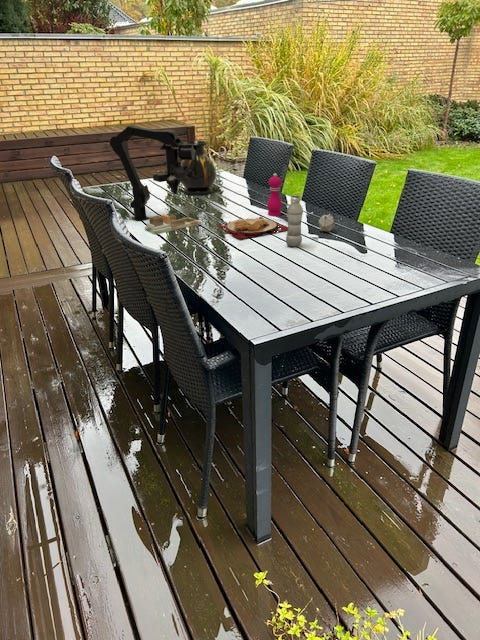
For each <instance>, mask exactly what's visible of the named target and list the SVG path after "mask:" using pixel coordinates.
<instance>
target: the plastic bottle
mask: <svg viewBox="0 0 480 640" xmlns="http://www.w3.org/2000/svg"><path fill="white" fill-rule="evenodd" d="M286 213H287V214H286V215H287V216H286V217H287V227H288V230H286V231H287V232H286V238H285V243H286V245H288V247H293V246H294V247H299V246H300V245H301V244H302V240H303V238H302V221H303V215H304V209H303V206H302V204H301V196H299V195H292V196H291V197H290V204H289V205H288V207H287V209H286Z"/></svg>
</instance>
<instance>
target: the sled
mask: <svg viewBox="0 0 480 640" xmlns="http://www.w3.org/2000/svg"><path fill="white" fill-rule="evenodd" d="M170 216H171V215H167V214H165V213H163V214H160V217H163V225H162V226H157V227H155V225H152V224H150V222H146V226H147V227H149V228H151V229H153V230H155V229H159V228H163V227H168V226H171V224H170Z"/></svg>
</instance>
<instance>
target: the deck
mask: <svg viewBox="0 0 480 640" xmlns="http://www.w3.org/2000/svg"><path fill="white" fill-rule="evenodd" d="M169 216H170V224H171V226H168V227H163V228H159V229H155V230H153V229H151V228H149V227H147V225H146V226H144V230H145V231H146V232H149V233H151V234H154V235H159V234H160V235H161V234H163V233H169V232H172V231H173V232H174V231H176V230H181V229H184V228H189V227H193V226H198V225H200V223H201V222H200V220H198V219H194V218H192V217H191V216H188V217H184V218H179V219H177V218H176V217H177V216H176V214H172V215H169Z"/></svg>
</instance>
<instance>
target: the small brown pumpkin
mask: <svg viewBox="0 0 480 640" xmlns="http://www.w3.org/2000/svg"><path fill="white" fill-rule="evenodd" d="M321 213H322V212H321ZM334 216H335V214H332V215H331V214H330V215H328V214H324V213H322V215H321V217H320V219H319V220H318V221H317V220H316V221H315V222H316V223H317V224H318V227H319V232H320V231H321V232H329V233H330V232H332V230H333V229H334V227H335V226H338V225H337V223H336V221H335V219H334Z"/></svg>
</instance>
